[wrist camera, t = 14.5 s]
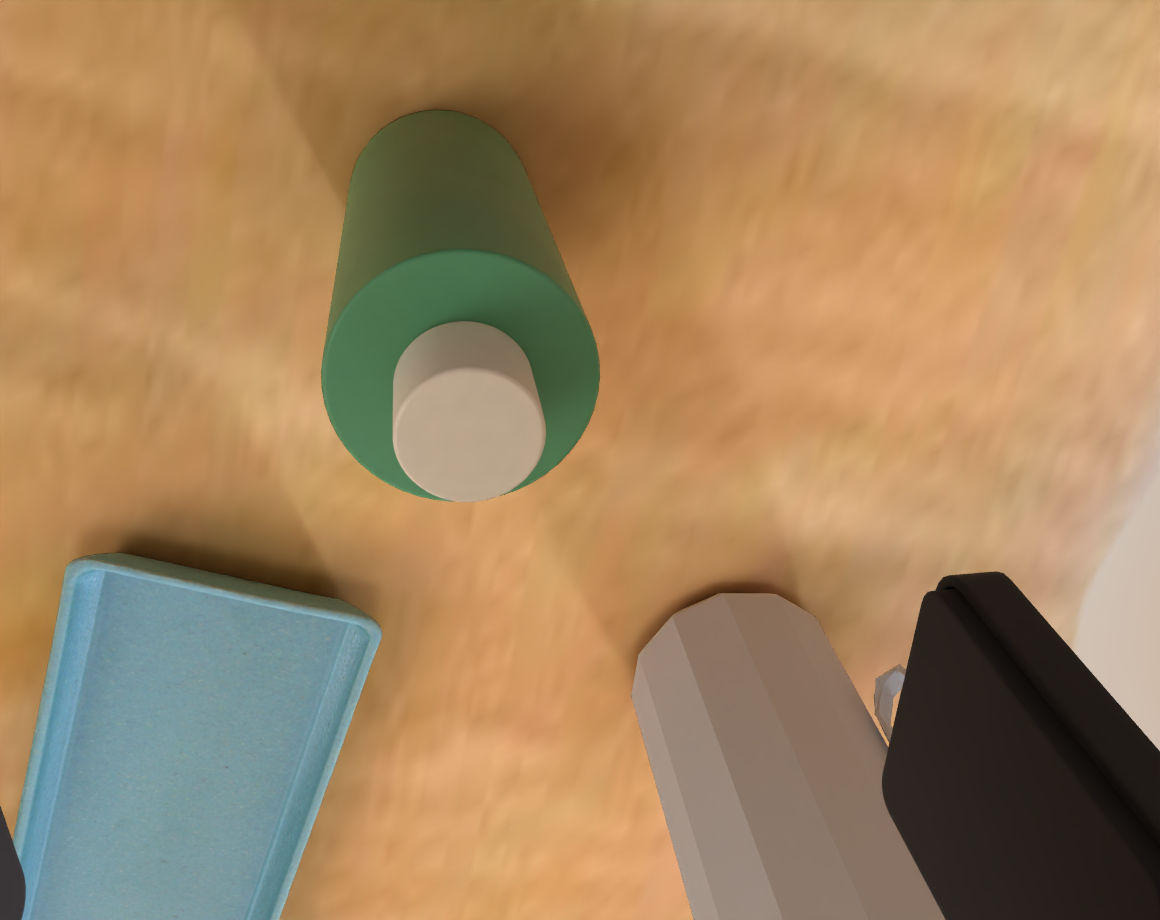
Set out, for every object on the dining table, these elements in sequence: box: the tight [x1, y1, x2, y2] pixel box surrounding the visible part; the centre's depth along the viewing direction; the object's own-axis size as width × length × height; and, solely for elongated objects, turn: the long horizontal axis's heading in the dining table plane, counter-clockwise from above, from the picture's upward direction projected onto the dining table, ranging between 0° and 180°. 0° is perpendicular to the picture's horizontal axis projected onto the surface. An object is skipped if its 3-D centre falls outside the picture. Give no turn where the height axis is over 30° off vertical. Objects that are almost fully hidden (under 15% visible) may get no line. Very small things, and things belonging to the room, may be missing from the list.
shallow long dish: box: [13, 553, 382, 920], centre depth 37 cm, size 26×9×2 cm, turn 159°
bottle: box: [321, 110, 600, 502], centre depth 22 cm, size 5×5×14 cm
